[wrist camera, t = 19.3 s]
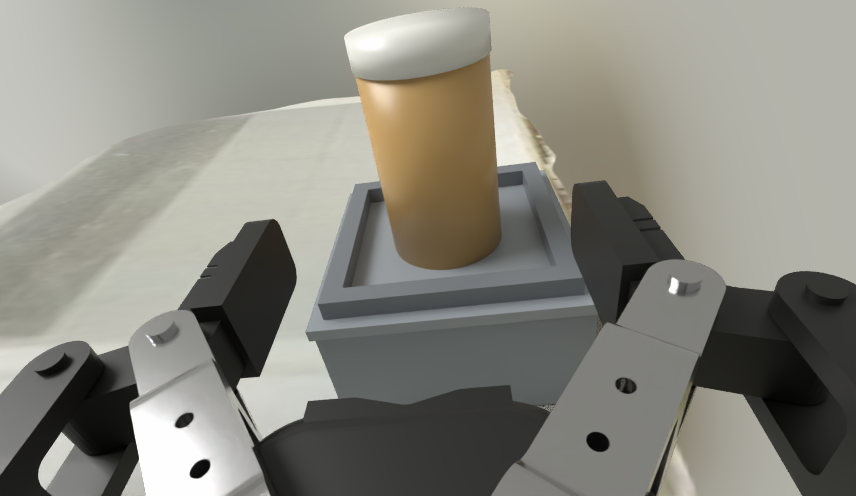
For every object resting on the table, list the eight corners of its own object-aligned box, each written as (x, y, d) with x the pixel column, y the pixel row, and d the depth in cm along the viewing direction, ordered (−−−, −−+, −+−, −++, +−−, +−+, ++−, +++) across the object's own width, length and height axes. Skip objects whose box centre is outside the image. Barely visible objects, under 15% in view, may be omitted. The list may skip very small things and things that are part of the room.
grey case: (343, 423, 25) (299, 316, 20) (371, 272, 36) (346, 181, 31) (594, 404, 24) (607, 286, 19) (543, 253, 35) (544, 156, 30)
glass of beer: (388, 276, 23) (330, 51, 17) (398, 213, 29) (356, 22, 22) (509, 265, 23) (495, 26, 16) (498, 202, 28) (484, 1, 22)
